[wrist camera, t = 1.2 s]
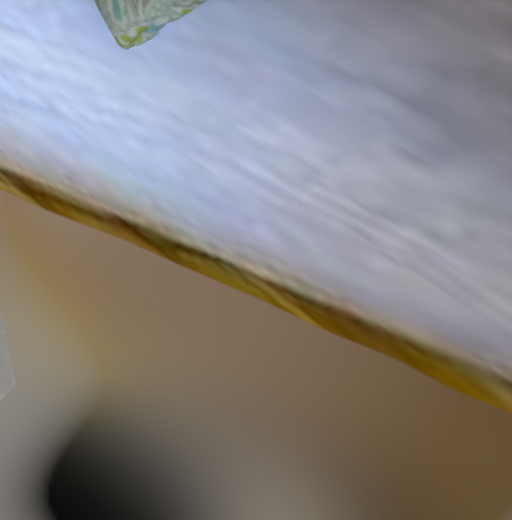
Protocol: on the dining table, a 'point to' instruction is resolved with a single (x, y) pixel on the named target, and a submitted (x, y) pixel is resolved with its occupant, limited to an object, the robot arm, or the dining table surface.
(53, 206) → the dining table surface
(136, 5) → the towel
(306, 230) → the dining table surface
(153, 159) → the dining table surface
